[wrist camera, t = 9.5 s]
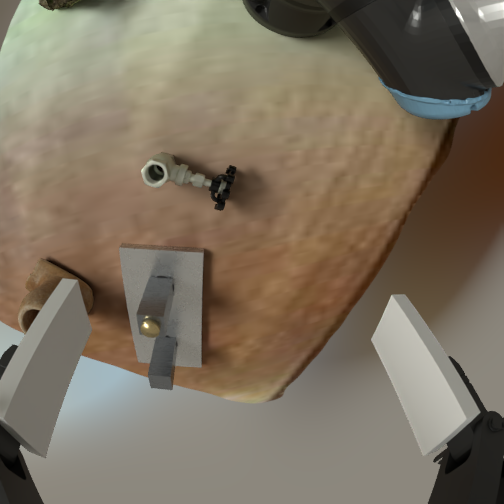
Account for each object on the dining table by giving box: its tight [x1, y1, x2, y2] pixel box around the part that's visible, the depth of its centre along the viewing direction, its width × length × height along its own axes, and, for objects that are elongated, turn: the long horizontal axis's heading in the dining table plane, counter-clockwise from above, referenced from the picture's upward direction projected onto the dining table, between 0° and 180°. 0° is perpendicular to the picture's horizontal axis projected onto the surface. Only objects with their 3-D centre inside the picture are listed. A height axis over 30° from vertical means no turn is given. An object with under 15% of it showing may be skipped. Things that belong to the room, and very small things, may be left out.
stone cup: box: [18, 258, 94, 334], centre depth 41 cm, size 15×12×15 cm
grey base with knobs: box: [119, 243, 204, 390], centre depth 47 cm, size 14×28×12 cm, turn 173°
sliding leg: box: [136, 277, 173, 338], centre depth 43 cm, size 4×4×11 cm
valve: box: [141, 152, 236, 211], centre depth 38 cm, size 7×7×12 cm
